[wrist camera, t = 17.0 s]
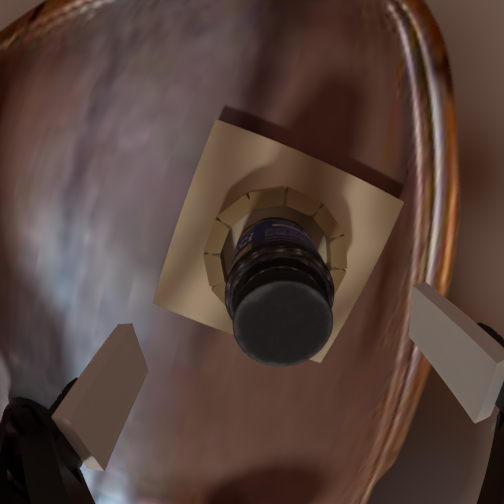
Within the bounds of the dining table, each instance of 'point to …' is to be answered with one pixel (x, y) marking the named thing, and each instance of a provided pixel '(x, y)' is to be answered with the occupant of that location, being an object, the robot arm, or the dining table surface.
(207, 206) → the square socket plate
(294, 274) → the pill bottle
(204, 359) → the dining table surface
